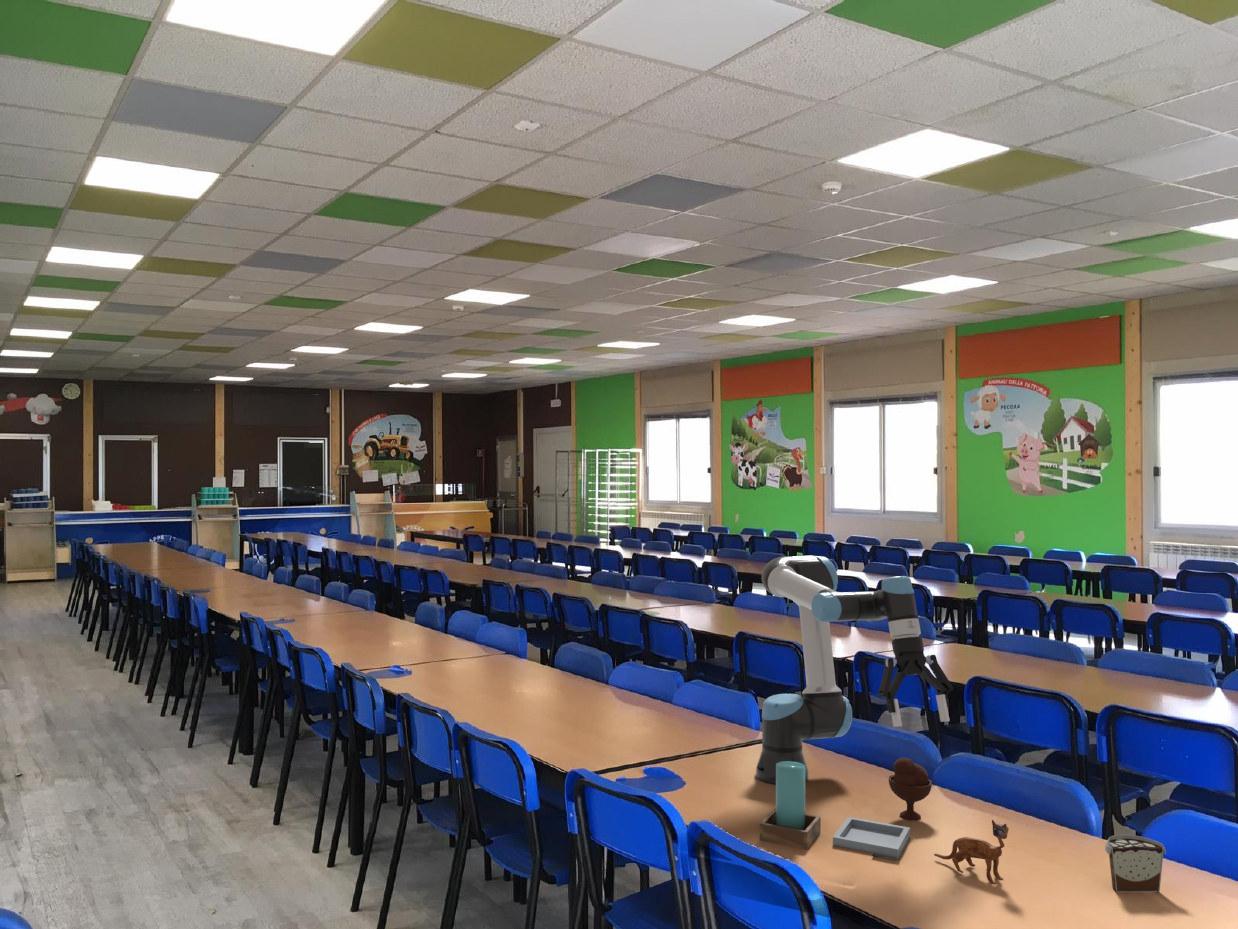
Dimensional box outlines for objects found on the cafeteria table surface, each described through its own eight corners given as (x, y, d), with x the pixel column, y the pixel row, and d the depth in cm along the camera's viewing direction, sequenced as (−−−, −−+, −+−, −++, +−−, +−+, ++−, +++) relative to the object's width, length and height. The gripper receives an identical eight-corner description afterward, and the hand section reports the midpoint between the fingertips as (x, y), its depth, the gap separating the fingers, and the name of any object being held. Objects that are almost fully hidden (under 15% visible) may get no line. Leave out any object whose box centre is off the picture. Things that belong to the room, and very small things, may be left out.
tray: (848, 826, 229) (848, 816, 229) (910, 838, 222) (910, 827, 222) (832, 847, 215) (832, 837, 215) (898, 860, 208) (898, 849, 208)
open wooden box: (774, 826, 229) (774, 808, 229) (820, 835, 223) (820, 816, 223) (759, 842, 218) (759, 823, 218) (807, 851, 213) (807, 832, 213)
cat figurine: (926, 863, 207) (926, 804, 207) (941, 856, 211) (941, 798, 212) (1001, 889, 194) (1001, 826, 194) (1015, 881, 198) (1015, 819, 198)
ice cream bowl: (904, 827, 229) (904, 767, 229) (880, 811, 240) (880, 754, 240) (941, 823, 232) (941, 763, 232) (915, 807, 242) (915, 751, 243)
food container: (1148, 879, 199) (1148, 833, 199) (1166, 892, 193) (1166, 844, 193) (1093, 880, 199) (1093, 833, 199) (1109, 892, 193) (1109, 845, 193)
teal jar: (780, 828, 225) (781, 759, 226) (808, 834, 222) (808, 764, 223) (771, 838, 219) (772, 767, 220) (800, 844, 216) (800, 771, 216)
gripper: (870, 639, 224) (885, 728, 218) (957, 632, 232) (973, 719, 226) (855, 642, 231) (869, 729, 225) (939, 636, 238) (955, 720, 233)
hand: (921, 724), depth 225 cm, fingers open, 13 cm apart
